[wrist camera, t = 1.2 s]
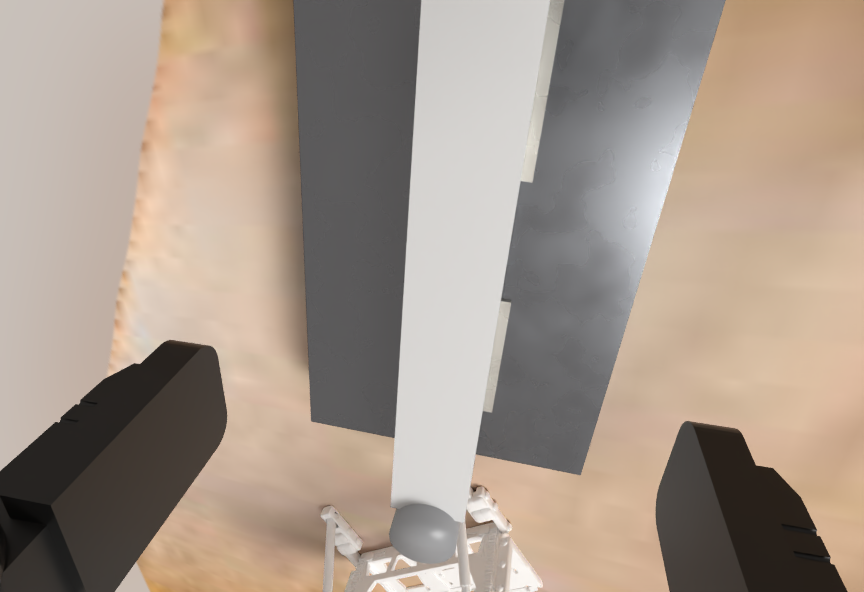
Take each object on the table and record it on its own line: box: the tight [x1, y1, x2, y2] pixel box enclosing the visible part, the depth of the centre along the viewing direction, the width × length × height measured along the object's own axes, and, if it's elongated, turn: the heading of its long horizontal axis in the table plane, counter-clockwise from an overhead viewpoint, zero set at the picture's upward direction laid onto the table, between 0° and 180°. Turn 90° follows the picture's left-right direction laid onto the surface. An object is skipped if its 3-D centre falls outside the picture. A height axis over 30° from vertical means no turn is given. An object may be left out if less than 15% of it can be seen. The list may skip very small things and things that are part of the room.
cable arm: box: [389, 0, 550, 564], centre depth 25 cm, size 28×4×4 cm, turn 175°
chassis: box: [293, 0, 726, 498], centre depth 29 cm, size 30×16×4 cm, turn 175°
